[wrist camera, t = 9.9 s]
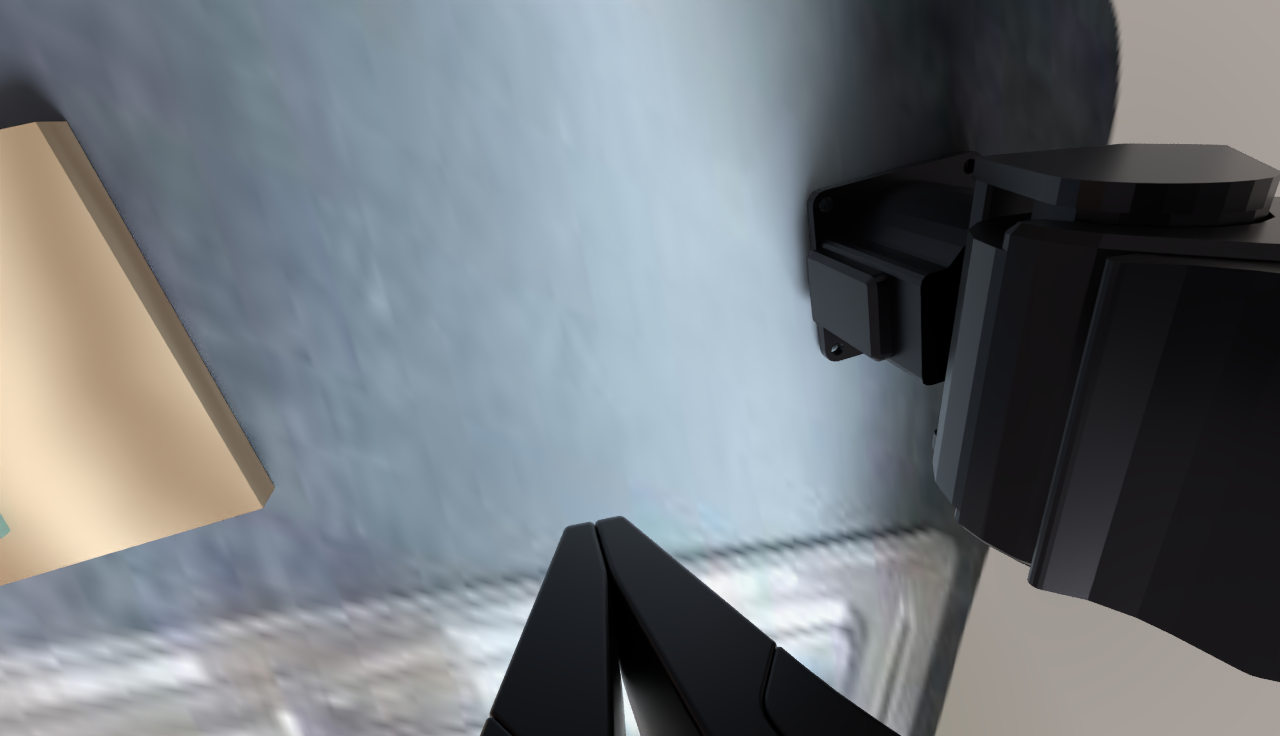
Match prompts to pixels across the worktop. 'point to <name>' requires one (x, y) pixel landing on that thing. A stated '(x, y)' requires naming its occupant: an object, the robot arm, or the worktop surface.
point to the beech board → (97, 378)
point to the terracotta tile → (3, 527)
